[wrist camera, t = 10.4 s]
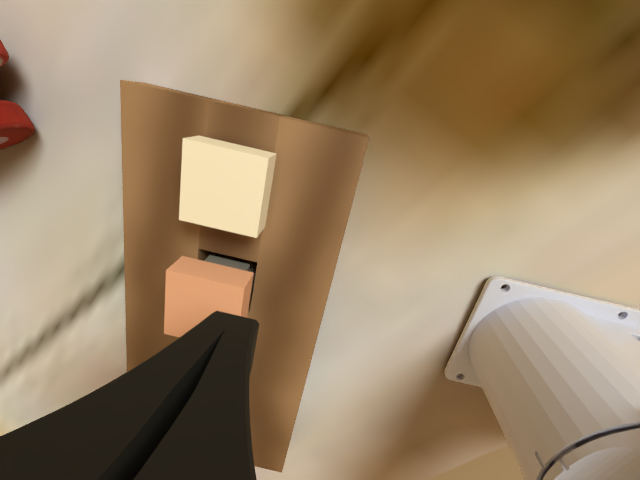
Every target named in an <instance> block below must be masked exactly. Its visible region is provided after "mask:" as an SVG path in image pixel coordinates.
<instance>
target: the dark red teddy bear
mask: <svg viewBox="0 0 640 480" xmlns="http://www.w3.org/2000/svg"><path fill="white" fill-rule="evenodd" d="M8 59H9V56H8V53H7V50H6V49H5V47H4V45H3V43H2V42H1V40H0V67H1V66H2V65H4V64H5V63H7V61H8ZM34 131H35V128H34V126H33V124H32V122H31V121H30V119H29V118H28V116H27V115H26V113H25V112H24V110H23V109H22V108H21V106H19V105H18V104H16V103H14V102H10V101H6V100H0V149H3V148H6V147H9V146H12V145H14V144H18V143H20V142H22V141H24V140H25V139H27V138H29V137H30V136H31V135H32V134H33V133H34Z"/></svg>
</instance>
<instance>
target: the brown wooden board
mask: <svg viewBox="0 0 640 480" xmlns="http://www.w3.org/2000/svg"><path fill="white" fill-rule="evenodd" d="M120 87H121V130H122V173H123V215H124V258H125V301H126V344H127V372H128V371H130V370H131V369H133V368H135V367H136V366H138V365H139V364H141V363H142V362H144V361H146V360H147V359H149V358H150V357H152V356H153V355H155V354H156V353H158V352H159V351H161V350H162V349H164V348H165V347H167V346H168V345H170V344H171V343H172V342H174V341H175V340H177V339H178V338H180V337H176V336H171V335H167V334H164V315H165V284H166V270H167V269H168V268H169V267H170V266H171V265H172V264H173V263H175V262H176V261H177V260H178V259H179V258H180V257H182V256H185V257H189V258H194V259H198V260H202V261H204V260H205V259H206V258H207V257H208V256H209V255H211V252H215V253H219V254H224V255H228V256H232V257H236V258H241V259H245V260H249V261H253V262H257V268H256V275H255V281H254V288H253V293H251V295H250V302H249V308H248V315H247V318H250V319H255V320H257V321H258V323H259V329H258V335H257V341H256V347H255V353H254V358H253V364H252V370H251V373H250V377H249V408H250V427H251V439H252V449H253V458H254V466H257V467H261V468H265V469H269V470H274V471H278V472H282V470H283V466H284V462H285V458H286V454H287V450H288V447H289V443H290V439H291V435H292V431H293V427H294V424H295V420H296V416H297V412H298V408H299V405H300V401H301V397H302V393H303V389H304V385H305V382H306V378H307V374H308V370H309V366H310V363H311V359H312V355H313V351H314V347H315V343H316V340H317V336H318V332H319V328H320V324H321V321H322V317H323V313H324V309H325V305H326V301H327V298H328V294H329V290H330V286H331V282H332V279H333V275H334V271H335V267H336V263H337V259H338V256H339V252H340V248H341V244H342V240H343V237H344V233H345V229H346V225H347V221H348V217H349V214H350V210H351V206H352V202H353V198H354V194H355V191H356V187H357V183H358V179H359V175H360V172H361V168H362V164H363V160H364V156H365V152H366V149H367V145H368V141H369V137H368V135H366V134H362V133H358V132H354V131H349V130H345V129H341V128H336V127H332V126H328V125H323V124H319V123H315V122H311V121H306V120H302V119H298V118H293V117H289V116H285V115H280V114H276V113H272V112H268V111H263V110H259V109H255V108H250V107H246V106H242V105H237V104H233V103H229V102H225V101H220V100H216V99H212V98H207V97H203V96H199V95H194V94H190V93H186V92H182V91H177V90H173V89H169V88H164V87H160V86H156V85H151V84H147V83H141V82H133V81H124V80H120ZM198 135H199V136H204V137H208V138H212V139H216V140H221V141H225V142H229V143H234V144H238V145H242V146H246V147H251V148H255V149H259V150H264V151H268V152H272V153H277V154H276V161H275V167H274V173H273V180H272V186H271V192H270V199H269V205H268V211H267V218H266V224H265V228H264V229H263V230H262V232H261V233H260V234H259V236H258V237H257V238H254V237H250V236H246V235H241V234H237V233H233V232H229V231H224V230H220V229H216V228H211V227H207V226H203V225H199V224H194V223H190V222H186V221H181V220H179V206H180V184H181V163H182V142H183V138H187V137H193V136H198Z"/></svg>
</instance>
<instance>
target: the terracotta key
mask: <svg viewBox="0 0 640 480" xmlns="http://www.w3.org/2000/svg"><path fill="white" fill-rule="evenodd" d="M249 269H250V264H247V263H243V262H238V261H234V260H230V259H226V258H221V257H217V256H213V255H209V256H208V257H207V258H206V259H205V260H204V261H202V260H198V259H194V258H189V257H185V256H182V257H180V258H179V259H178V260H177V261H176V262H175V263H173V264H172V265H171V266H170V267H169V268H168V269H167V270H166V284H165V315H164V334H167V335H171V336H176V337H181V336H182V335H184V334H185V333H186V332H188V331H189V330H191V329H192V328H193V327H195V326H196V325H197V324H199V323H200V322H201V321H203V320H204V319H205V318H206V317H208V316H209V315H210V314H212V313H213V312H215V311H221V312H225V313H229V314H233V315H238V316H242V317H246V318H247V315H248V308H249V302H250V295H251V289H252V282H253V275H254V273H253V272H249Z"/></svg>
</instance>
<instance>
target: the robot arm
mask: <svg viewBox="0 0 640 480" xmlns="http://www.w3.org/2000/svg"><path fill="white" fill-rule="evenodd" d="M505 284H507V286H506V288H504V289H501V287H502V285H505ZM621 312H622V313H621ZM619 313H621V314H620V315H618V314H619ZM258 329H259V323H258V321H257V320H255V319H250V318H246V317H242V316H238V315H233V314H229V313H225V312H221V311H215V312H213V313H212V314H210V315H209V316H208V317H206V318H205V319H204V320H203V321H201V322H200V323H199V324H197V325H196V326H195V327H193V328H192V329H191V330H189V331H188V332H186V333H185V334H184V335H182V336H181V337H180V338H178V339H177V340H175V341H174V342H172V343H171V344H170V345H168V346H167V347H165V348H164V349H162V350H161V351H159V352H158V353H156V354H155V355H153V356H152V357H150V358H149V359H147V360H146V361H144V362H142V363H141V364H139V365H138V366H136V367H135V368H133V369H131V370H130V371H128V372H127V373H125V374H123V375H122V376H120V377H118V378H117V379H115V380H113V381H111V382H110V383H108V384H106V385H104V386H103V387H101V388H99V389H97V390H95V391H93V392H92V393H90V394H88V395H86V396H84V397H82V398H80V399H79V400H77V401H75V402H73V403H71V404H69V405H67V406H65V407H63V408H61V409H59V410H57V411H55V412H52V413H50V414H48V415H46V416H44V417H42V418H40V419H38V420H35V421H33V422H31V423H29V424H27V425H25V426H23V427H21V428H19V429H16V430H14V431H12V432H10V433H7V434H5V435H3V436H0V480H256V474H255V467H254V458H253V449H252V439H251V427H250V408H249V377H250V373H251V370H252V364H253V358H254V353H255V347H256V341H257V335H258ZM444 373H445V376H446V378H447V379H449V380H451V381H456V382H460V383H464V384H468V385H473V386H477V387H481V388H482V389H483V391H484V393H485V395H486V397H487V400H488V402H489V404H490V406H491V408H492V410H493V413H494V415H495V417H496V419H497V421H498V423H499V425H500V428H501V430H502V432H503V434H504V436H505V438H506V440H507V443H508V445H509V447H510V449H511V451H512V453H513V455H514V458H515V460H516V462H517V464H518V466H519V468H520V471H521V473H522V475H523V477H524V479H525V480H640V309H636V308H632V307H628V306H624V305H619V304H615V303H611V302H606V301H602V300H598V299H594V298H589V297H585V296H581V295H576V294H572V293H568V292H564V291H559V290H555V289H551V288H546V287H542V286H538V285H534V284H529V283H525V282H521V281H517V280H512V279H508V278H504V277H499V276H493V277H490V278H489V279H488V280H487V281H486V283H485V286H484V288H483V290H482V292H481V294H480V296H479V298H478V300H477V302H476V304H475V307H474V309H473V311H472V313H471V315H470V317H469V319H468V321H467V323H466V325H465V328H464V330H463V332H462V334H461V336H460V338H459V340H458V342H457V344H456V347H455V349H454V351H453V353H452V355H451V357H450V359H449V361H448V363H447V365H446V368H445V370H444ZM458 374H462V375H459V376H458Z"/></svg>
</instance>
